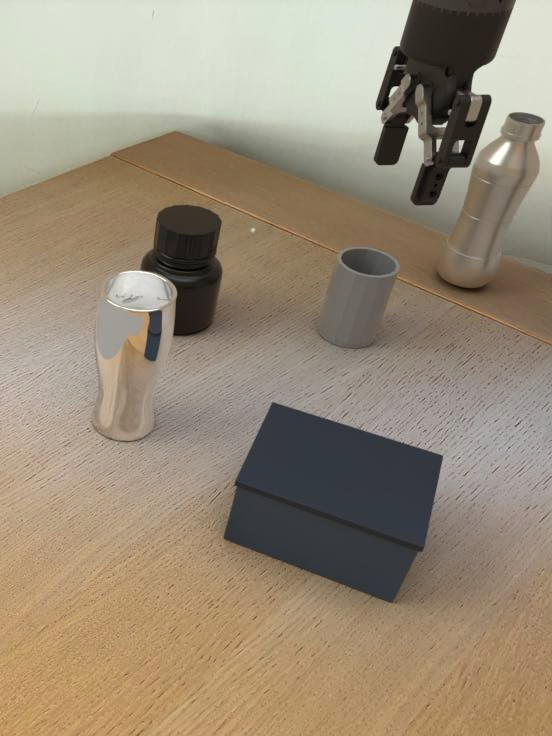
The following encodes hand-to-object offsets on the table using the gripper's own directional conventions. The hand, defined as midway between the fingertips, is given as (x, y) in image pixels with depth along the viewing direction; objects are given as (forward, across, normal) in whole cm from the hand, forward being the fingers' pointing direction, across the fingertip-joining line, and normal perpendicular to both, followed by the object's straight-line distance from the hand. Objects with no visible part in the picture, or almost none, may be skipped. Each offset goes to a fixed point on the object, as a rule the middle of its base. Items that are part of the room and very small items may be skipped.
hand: (402, 182), depth 78 cm
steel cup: (+19, +3, -1) cm, 20 cm away
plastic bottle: (+20, +13, -19) cm, 30 cm away
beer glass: (+20, -11, +26) cm, 34 cm away
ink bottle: (+20, +7, +18) cm, 27 cm away
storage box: (+19, -25, +12) cm, 34 cm away
